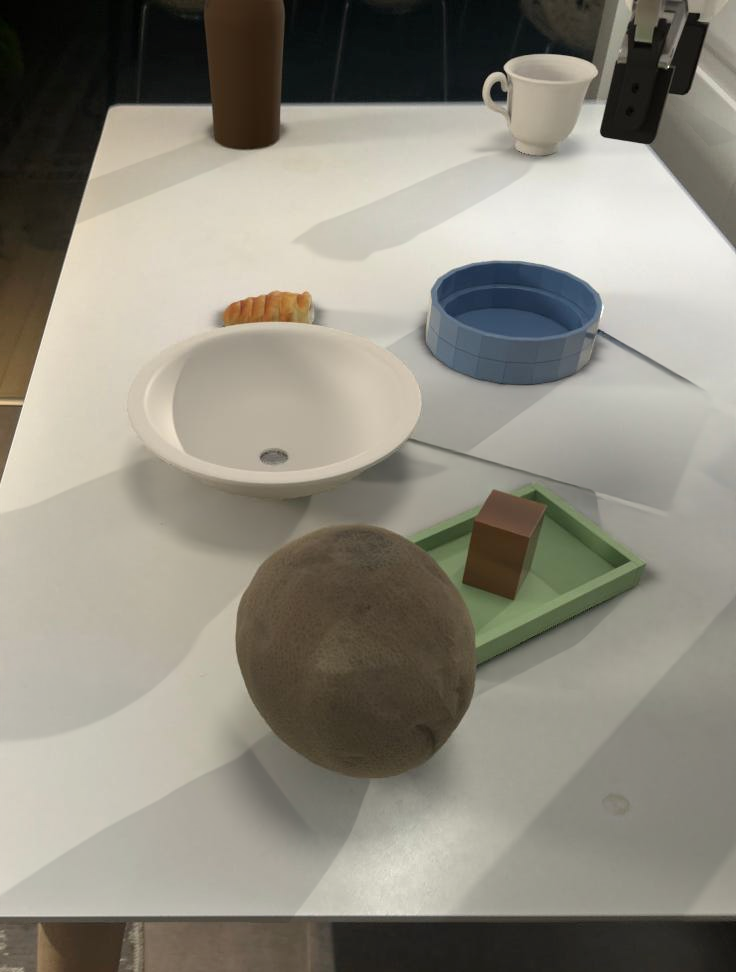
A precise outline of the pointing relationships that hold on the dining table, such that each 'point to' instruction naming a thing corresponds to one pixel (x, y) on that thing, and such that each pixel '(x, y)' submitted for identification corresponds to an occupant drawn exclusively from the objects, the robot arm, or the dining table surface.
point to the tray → (536, 573)
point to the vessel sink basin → (274, 407)
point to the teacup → (541, 98)
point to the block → (503, 544)
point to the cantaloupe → (357, 650)
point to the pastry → (271, 309)
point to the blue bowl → (512, 321)
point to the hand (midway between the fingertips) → (645, 114)
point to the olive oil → (245, 70)
